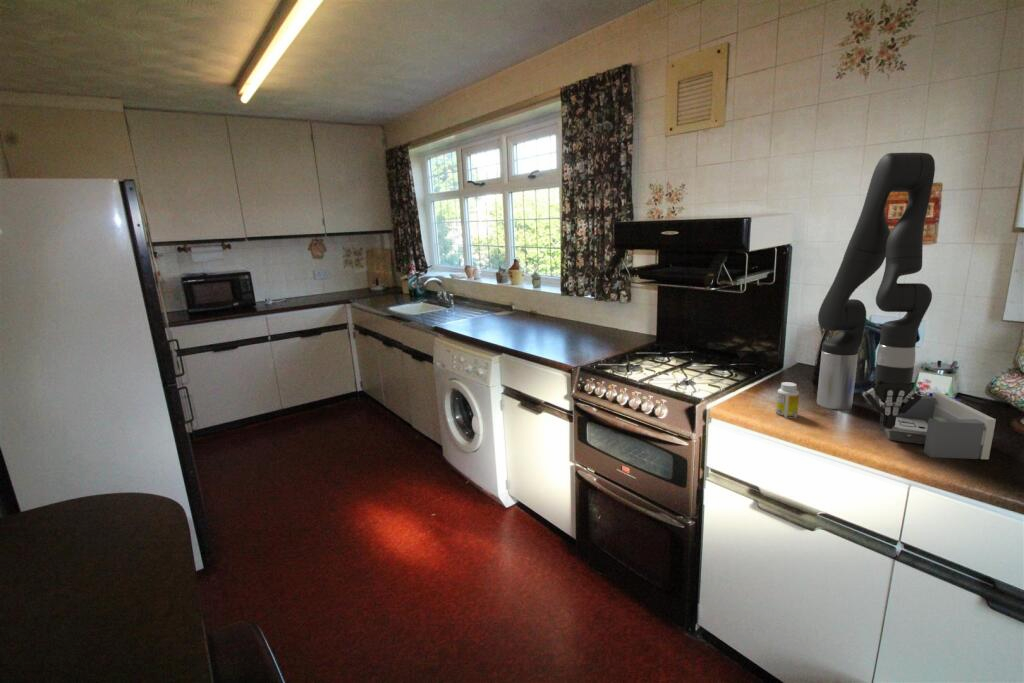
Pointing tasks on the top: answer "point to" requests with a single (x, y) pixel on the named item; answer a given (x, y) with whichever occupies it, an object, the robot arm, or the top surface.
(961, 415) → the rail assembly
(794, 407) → the supplement bottle
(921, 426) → the electrical switch
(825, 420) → the top surface
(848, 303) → the robot arm
